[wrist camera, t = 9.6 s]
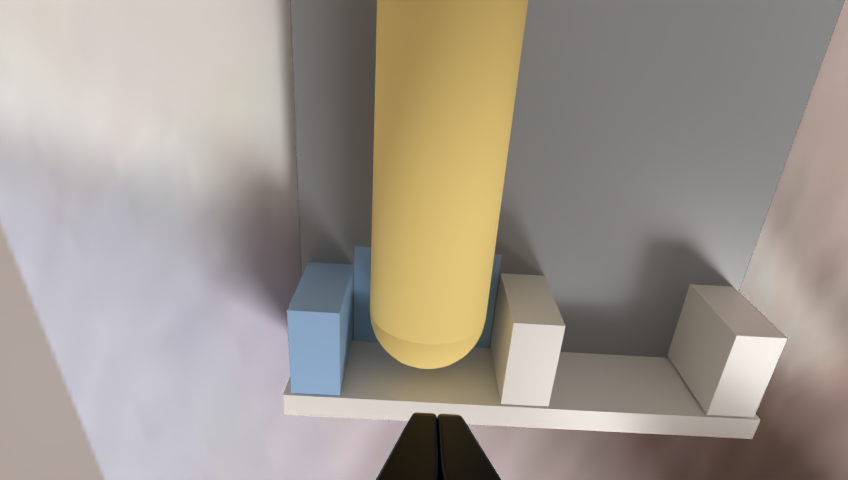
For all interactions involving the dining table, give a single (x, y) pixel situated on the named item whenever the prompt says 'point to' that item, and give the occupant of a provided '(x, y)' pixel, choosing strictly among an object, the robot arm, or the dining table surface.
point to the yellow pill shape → (439, 169)
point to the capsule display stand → (571, 218)
